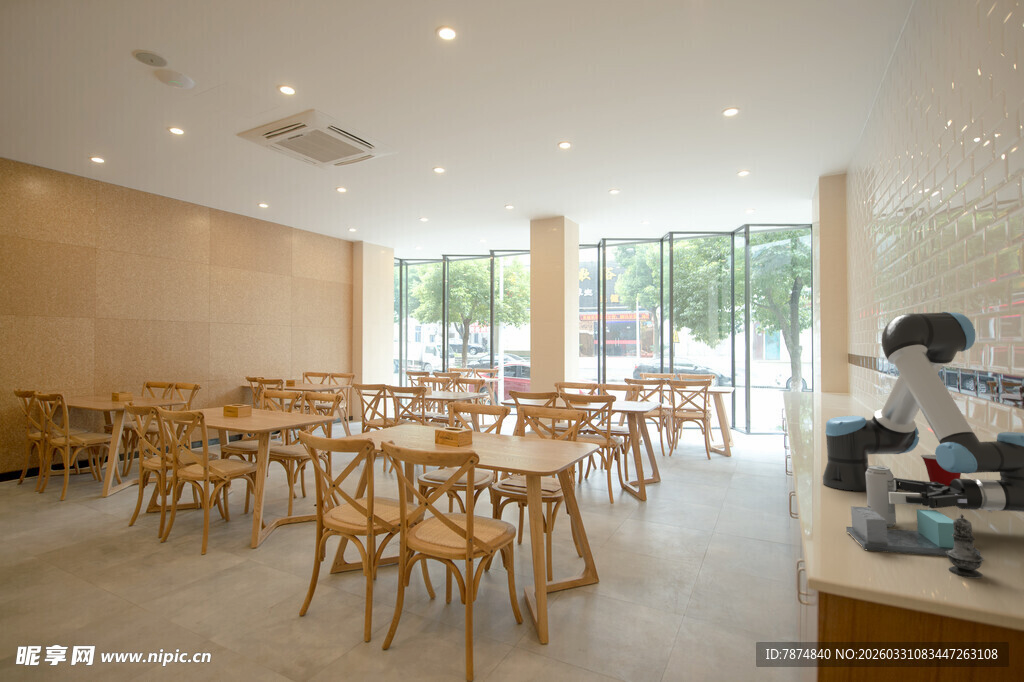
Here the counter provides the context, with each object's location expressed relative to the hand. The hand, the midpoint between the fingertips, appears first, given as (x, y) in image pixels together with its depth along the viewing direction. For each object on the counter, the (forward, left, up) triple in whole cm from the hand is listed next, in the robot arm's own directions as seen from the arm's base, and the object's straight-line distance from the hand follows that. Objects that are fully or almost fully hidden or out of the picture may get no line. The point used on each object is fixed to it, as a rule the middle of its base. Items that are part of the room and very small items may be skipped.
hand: (878, 490), depth 133 cm
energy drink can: (-1, +1, -9) cm, 9 cm away
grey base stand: (+14, +1, -9) cm, 17 cm away
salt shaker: (+29, +5, -9) cm, 31 cm away
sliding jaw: (+14, +7, -7) cm, 18 cm away
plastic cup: (-37, +31, -9) cm, 48 cm away
